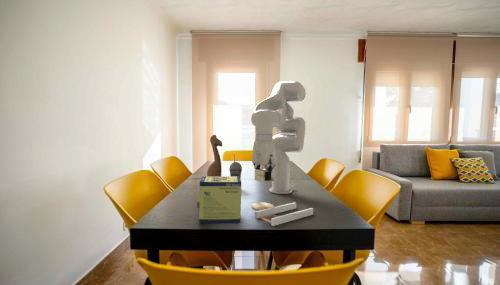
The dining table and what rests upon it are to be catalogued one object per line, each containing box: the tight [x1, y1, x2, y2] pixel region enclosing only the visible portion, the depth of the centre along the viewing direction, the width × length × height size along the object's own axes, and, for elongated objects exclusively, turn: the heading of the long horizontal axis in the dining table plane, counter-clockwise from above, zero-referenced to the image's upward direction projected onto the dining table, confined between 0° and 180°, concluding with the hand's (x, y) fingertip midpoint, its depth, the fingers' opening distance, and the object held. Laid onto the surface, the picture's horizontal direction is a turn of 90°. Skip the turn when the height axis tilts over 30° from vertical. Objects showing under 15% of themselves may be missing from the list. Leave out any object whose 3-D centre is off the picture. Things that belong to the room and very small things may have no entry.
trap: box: [258, 214, 280, 224], centre depth 99 cm, size 7×8×1 cm
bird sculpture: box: [196, 134, 223, 207], centre depth 117 cm, size 11×12×32 cm
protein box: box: [198, 175, 242, 224], centre depth 99 cm, size 10×16×16 cm
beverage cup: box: [229, 154, 243, 179], centre depth 146 cm, size 7×7×20 cm
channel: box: [254, 201, 314, 227], centre depth 103 cm, size 22×10×2 cm, turn 127°
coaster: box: [250, 201, 275, 211], centre depth 115 cm, size 10×10×1 cm
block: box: [254, 168, 274, 183], centre depth 114 cm, size 6×6×5 cm
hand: (262, 178), depth 114 cm, fingers closed on block, 6 cm apart
